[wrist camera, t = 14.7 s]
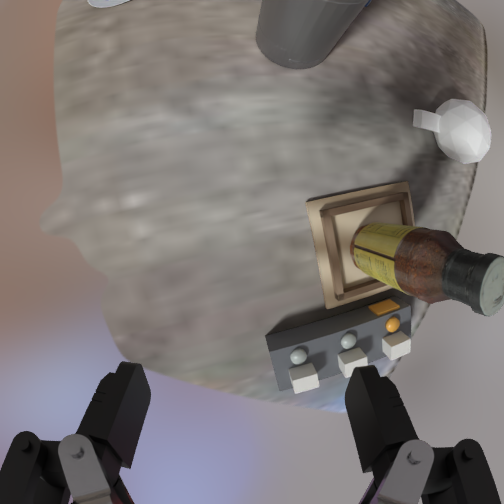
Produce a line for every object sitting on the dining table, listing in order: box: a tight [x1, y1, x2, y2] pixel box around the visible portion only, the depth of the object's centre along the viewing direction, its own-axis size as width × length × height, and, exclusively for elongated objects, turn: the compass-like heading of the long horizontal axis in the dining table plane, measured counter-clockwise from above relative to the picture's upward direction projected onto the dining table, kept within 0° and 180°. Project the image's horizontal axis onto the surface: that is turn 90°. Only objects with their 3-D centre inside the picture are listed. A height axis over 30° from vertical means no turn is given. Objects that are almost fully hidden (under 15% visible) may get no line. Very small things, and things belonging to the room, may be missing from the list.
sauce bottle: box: [350, 222, 504, 316], centre depth 23 cm, size 6×6×20 cm
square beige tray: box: [305, 181, 415, 309], centre depth 32 cm, size 13×14×2 cm
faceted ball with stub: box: [413, 99, 492, 164], centre depth 27 cm, size 9×9×12 cm
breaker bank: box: [265, 296, 411, 394], centre depth 32 cm, size 6×18×6 cm, turn 104°
